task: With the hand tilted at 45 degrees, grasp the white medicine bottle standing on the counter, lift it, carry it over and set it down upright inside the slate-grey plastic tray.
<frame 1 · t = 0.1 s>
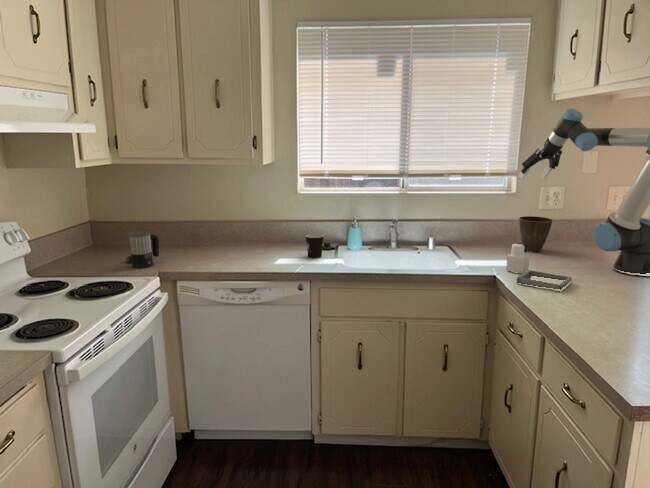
hand: (531, 177, 235), 36 cm above the worktop, tool tilted 35°, fingers open, 13 cm apart
milk frother: (139, 264, 219), on the worktop
coffee mug: (314, 255, 233), on the worktop
tray: (543, 283, 189), on the worktop
medicine bottle: (517, 271, 206), on the worktop
plant pot: (532, 250, 241), on the worktop
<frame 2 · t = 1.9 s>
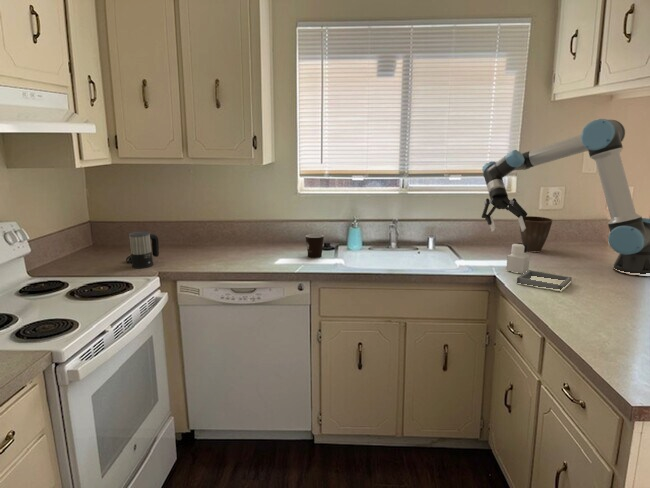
hand: (508, 230, 213), 16 cm above the worktop, tool tilted 45°, fingers open, 13 cm apart
nothing on the worktop moved.
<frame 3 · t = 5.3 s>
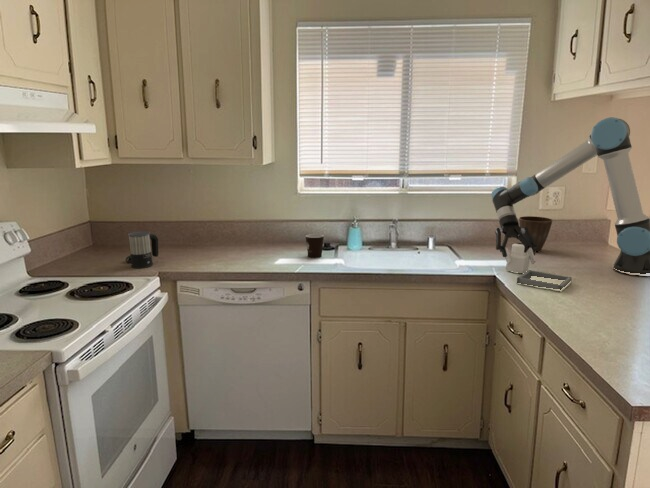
hand: (521, 262, 202), 4 cm above the worktop, tool tilted 45°, fingers closed on medicine bottle, 10 cm apart
medicine bottle: (517, 271, 206), on the worktop, touching gripper
everything else where it was.
when the fingers open (6 cm above the worktop, at t = 10.2 s): medicine bottle drops 1 cm, resting on tray.
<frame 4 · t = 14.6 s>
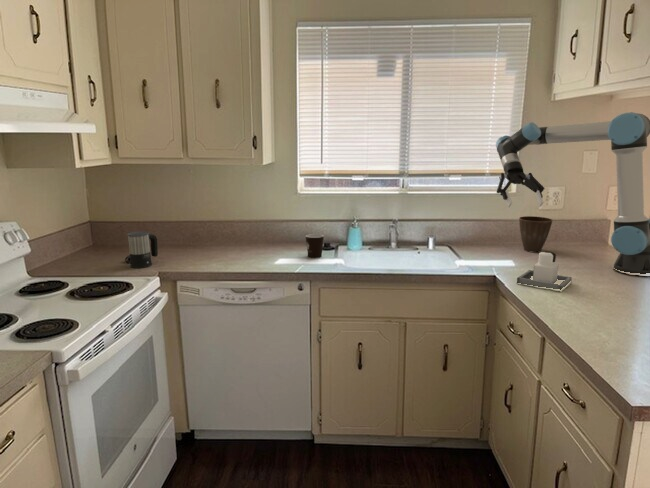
hand: (525, 205, 203), 28 cm above the worktop, tool tilted 45°, fingers open, 13 cm apart
medicine bottle: (544, 282, 189), resting on tray
everything else where it was.
at the end: medicine bottle inside the target area on the tray (0.2 cm from its centre), point 0.4 cm above the tray's base; medicine bottle tilted 0°; the gripper is holding nothing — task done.
